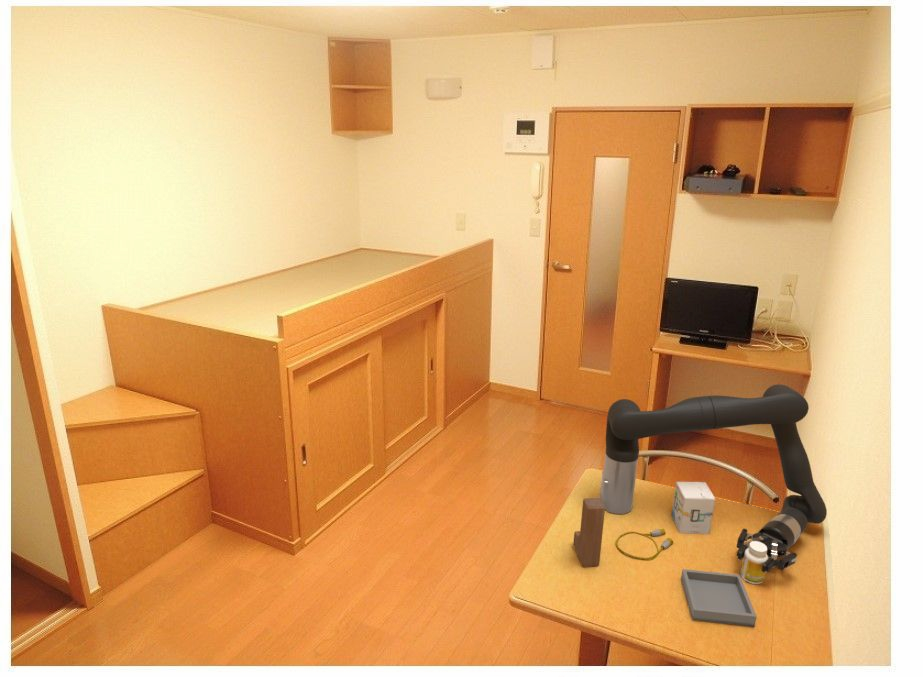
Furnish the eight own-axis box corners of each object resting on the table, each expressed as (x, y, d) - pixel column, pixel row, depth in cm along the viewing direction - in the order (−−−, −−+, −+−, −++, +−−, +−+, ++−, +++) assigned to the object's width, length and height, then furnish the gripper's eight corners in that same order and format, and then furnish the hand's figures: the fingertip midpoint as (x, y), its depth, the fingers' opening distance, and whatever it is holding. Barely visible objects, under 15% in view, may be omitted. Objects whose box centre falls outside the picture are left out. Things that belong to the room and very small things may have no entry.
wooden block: (572, 544, 166) (577, 487, 159) (588, 543, 166) (594, 486, 160) (582, 567, 157) (588, 508, 151) (599, 566, 158) (605, 507, 151)
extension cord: (680, 563, 160) (681, 556, 159) (620, 561, 160) (620, 555, 160) (667, 533, 171) (668, 527, 171) (610, 531, 172) (611, 525, 171)
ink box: (670, 514, 179) (675, 480, 175) (700, 515, 178) (706, 481, 174) (679, 533, 171) (684, 497, 167) (710, 534, 170) (716, 498, 166)
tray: (692, 620, 141) (694, 609, 140) (680, 578, 154) (682, 569, 153) (754, 627, 139) (756, 616, 138) (737, 584, 152) (739, 574, 151)
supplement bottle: (735, 571, 156) (741, 540, 153) (753, 568, 158) (760, 537, 154) (749, 586, 151) (756, 554, 148) (768, 583, 153) (775, 551, 149)
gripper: (755, 509, 165) (725, 535, 154) (811, 534, 155) (784, 565, 144) (750, 532, 168) (720, 560, 157) (806, 559, 158) (778, 590, 147)
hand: (751, 562), depth 151 cm, fingers closed on supplement bottle, 5 cm apart
